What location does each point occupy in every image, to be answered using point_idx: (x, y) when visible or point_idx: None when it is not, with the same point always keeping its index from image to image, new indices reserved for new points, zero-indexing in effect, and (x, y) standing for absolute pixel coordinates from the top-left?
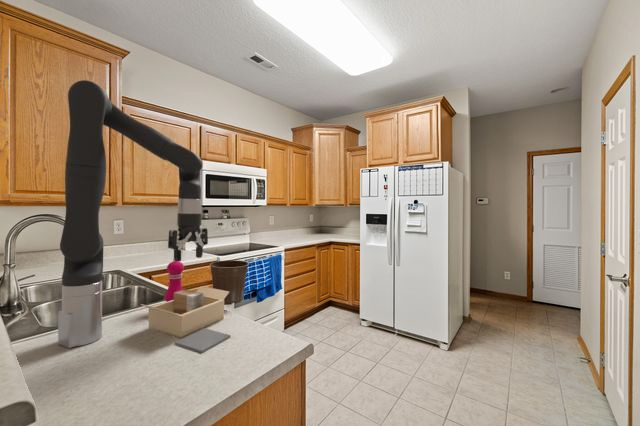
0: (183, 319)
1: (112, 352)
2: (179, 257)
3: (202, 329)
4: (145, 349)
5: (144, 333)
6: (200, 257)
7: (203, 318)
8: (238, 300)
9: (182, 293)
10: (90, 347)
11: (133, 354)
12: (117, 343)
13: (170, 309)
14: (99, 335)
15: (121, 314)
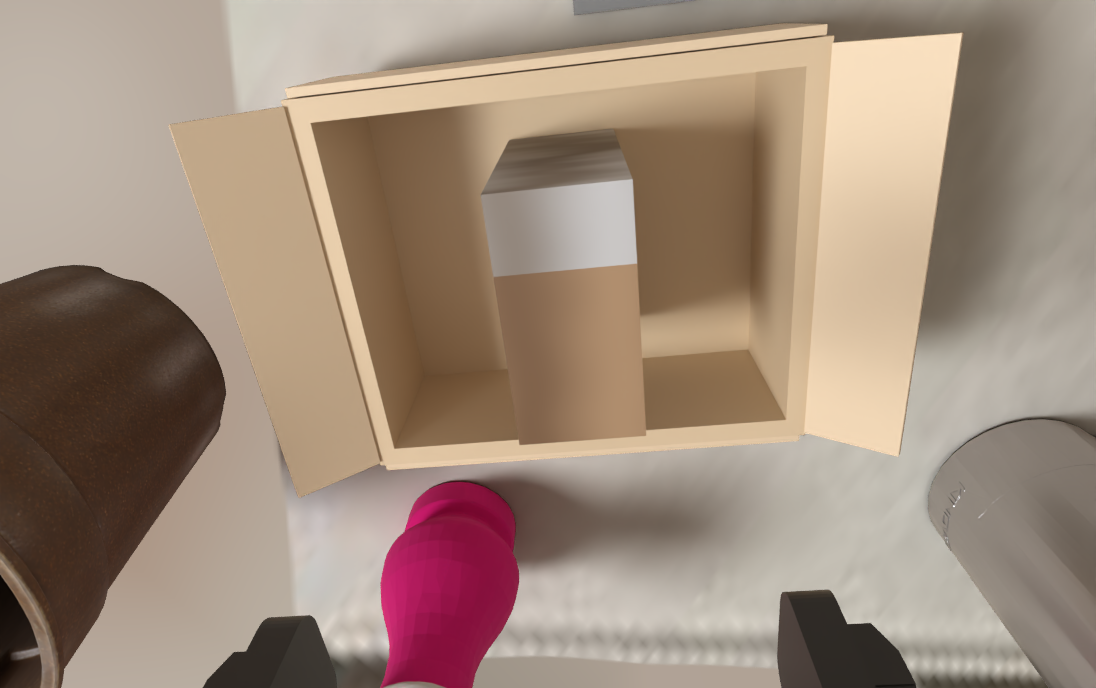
0: (798, 25)
1: (1081, 217)
2: (855, 650)
3: (601, 7)
4: (986, 84)
5: None
6: (294, 616)
7: (565, 50)
8: (62, 269)
9: (616, 354)
10: (1067, 374)
11: (1066, 80)
12: (980, 309)
13: None
14: (989, 445)
15: (700, 639)
